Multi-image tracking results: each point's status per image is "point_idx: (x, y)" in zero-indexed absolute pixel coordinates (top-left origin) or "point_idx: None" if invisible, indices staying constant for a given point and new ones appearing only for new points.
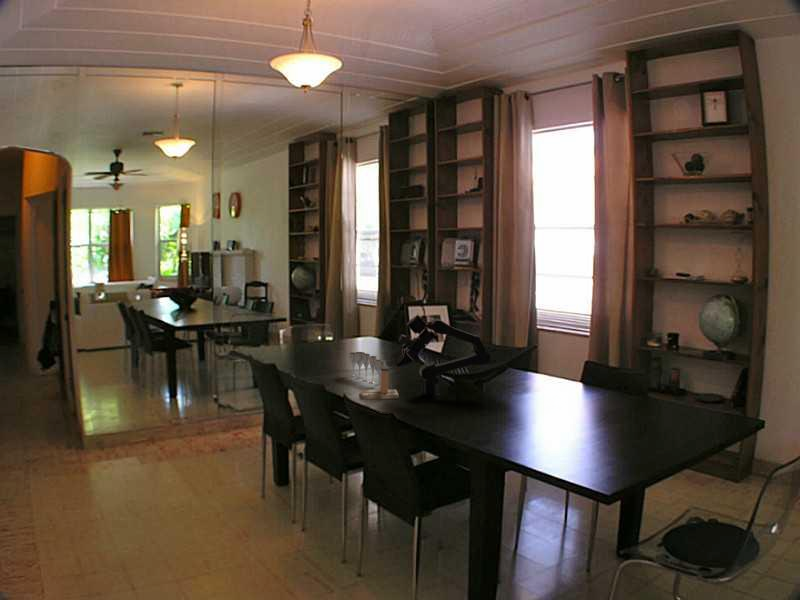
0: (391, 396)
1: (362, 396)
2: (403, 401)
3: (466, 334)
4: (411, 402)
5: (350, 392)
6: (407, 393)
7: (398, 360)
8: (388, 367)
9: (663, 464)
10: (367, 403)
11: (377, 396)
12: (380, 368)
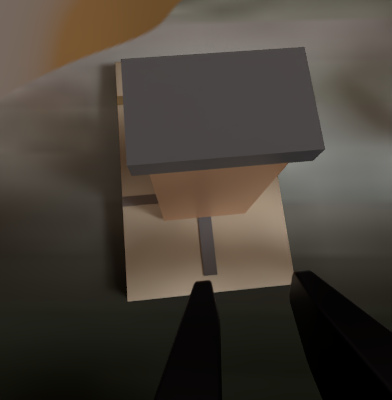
0: (126, 248)
1: (117, 68)
2: (51, 335)
3: None
4: (20, 397)
5: (263, 13)
6: (282, 372)
7: (353, 322)
8: (223, 156)
9: None
10: (12, 105)
11: (121, 155)
12: (206, 61)
